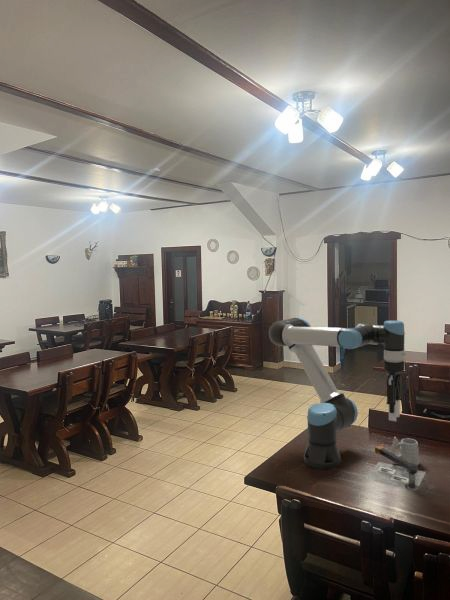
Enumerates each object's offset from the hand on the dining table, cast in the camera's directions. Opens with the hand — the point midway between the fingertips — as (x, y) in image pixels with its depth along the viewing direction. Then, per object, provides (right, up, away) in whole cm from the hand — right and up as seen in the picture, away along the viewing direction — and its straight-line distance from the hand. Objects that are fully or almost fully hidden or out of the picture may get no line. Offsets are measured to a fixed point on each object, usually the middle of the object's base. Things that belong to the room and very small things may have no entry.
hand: (394, 418), depth 179 cm
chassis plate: (-1, -21, -5) cm, 22 cm away
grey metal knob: (+1, -22, -15) cm, 26 cm away
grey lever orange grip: (-2, -15, -8) cm, 17 cm away
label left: (-4, -20, -2) cm, 21 cm away
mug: (+6, -20, +5) cm, 22 cm away
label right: (-1, -21, -9) cm, 23 cm away
